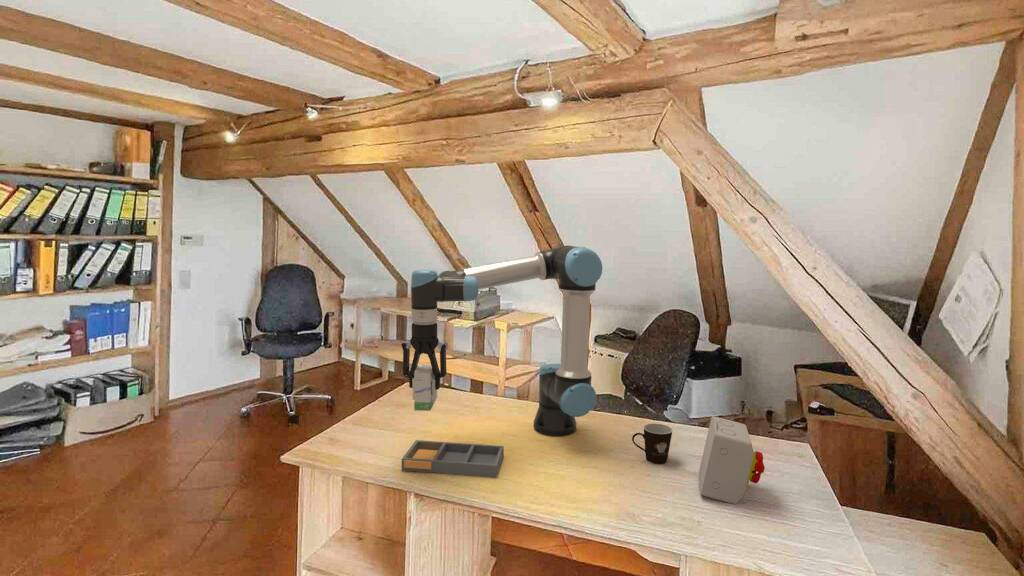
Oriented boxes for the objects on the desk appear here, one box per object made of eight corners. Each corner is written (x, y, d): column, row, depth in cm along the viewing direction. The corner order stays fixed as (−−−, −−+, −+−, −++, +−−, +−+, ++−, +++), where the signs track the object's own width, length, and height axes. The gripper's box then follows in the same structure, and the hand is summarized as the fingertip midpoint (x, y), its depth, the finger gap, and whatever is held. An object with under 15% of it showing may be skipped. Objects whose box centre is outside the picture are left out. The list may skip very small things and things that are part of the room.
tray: (503, 456, 172) (503, 445, 172) (496, 478, 158) (496, 466, 157) (416, 450, 176) (416, 440, 175) (401, 471, 161) (400, 459, 161)
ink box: (419, 401, 170) (418, 364, 169) (436, 401, 170) (435, 364, 169) (413, 411, 162) (412, 371, 161) (431, 411, 162) (430, 371, 160)
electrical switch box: (758, 516, 144) (777, 445, 140) (699, 499, 148) (715, 429, 144) (752, 490, 157) (768, 425, 154) (697, 475, 161) (712, 411, 158)
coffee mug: (671, 456, 174) (673, 425, 173) (669, 467, 166) (671, 435, 165) (634, 450, 178) (635, 420, 177) (630, 461, 170) (631, 430, 169)
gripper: (389, 323, 160) (390, 401, 163) (452, 326, 158) (451, 404, 161) (398, 318, 168) (399, 393, 171) (457, 321, 165) (457, 396, 168)
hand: (424, 398), depth 166 cm, fingers closed on ink box, 5 cm apart
